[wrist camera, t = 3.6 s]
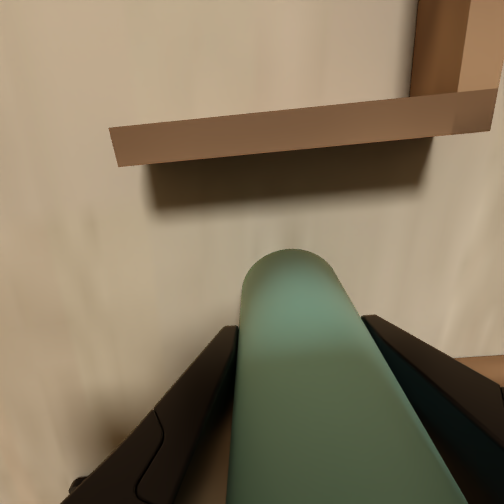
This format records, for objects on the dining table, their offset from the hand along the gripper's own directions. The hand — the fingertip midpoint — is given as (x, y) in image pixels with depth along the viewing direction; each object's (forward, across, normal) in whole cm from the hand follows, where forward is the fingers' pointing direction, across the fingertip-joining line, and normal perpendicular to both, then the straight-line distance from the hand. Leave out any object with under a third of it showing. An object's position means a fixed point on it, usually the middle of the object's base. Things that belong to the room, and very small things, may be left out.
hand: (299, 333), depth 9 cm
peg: (+2, 0, 0) cm, 2 cm away
